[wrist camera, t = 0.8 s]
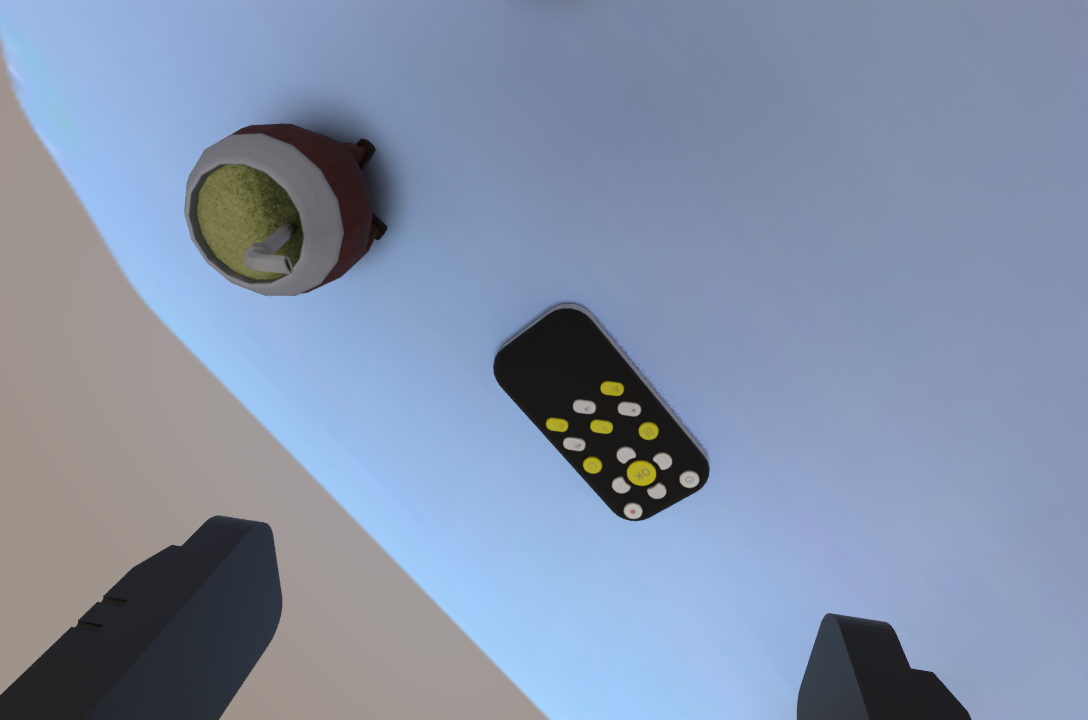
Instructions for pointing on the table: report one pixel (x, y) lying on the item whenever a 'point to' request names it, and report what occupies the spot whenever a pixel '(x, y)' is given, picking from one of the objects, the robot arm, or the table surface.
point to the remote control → (601, 413)
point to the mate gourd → (281, 208)
